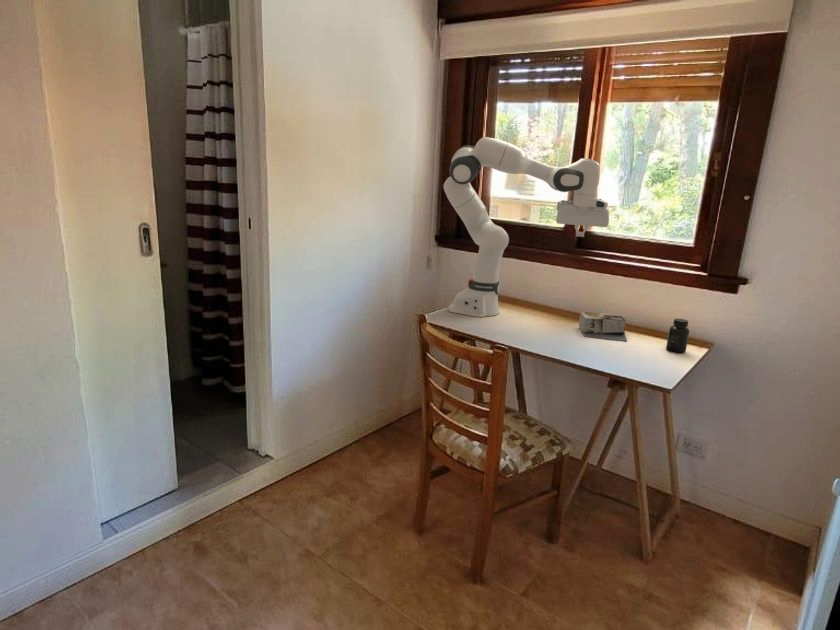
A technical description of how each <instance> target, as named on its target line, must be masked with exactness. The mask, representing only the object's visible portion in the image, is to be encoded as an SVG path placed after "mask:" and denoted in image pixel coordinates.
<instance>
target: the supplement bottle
mask: <svg viewBox="0 0 840 630" xmlns="http://www.w3.org/2000/svg"><path fill="white" fill-rule="evenodd" d="M672 324H673V325H671V326H670V327H669V328H668V335H667V339H666V345H665V349H666V350H667V351H668V352H670V353H673V354H681V355H682V354H685V353H686V351H687V348H688V347H687V346H688V343H689V342H688V341H689V336H690V329H689V328H688V326H689V320H687V319H683V318H674V319H673V322H672Z"/></svg>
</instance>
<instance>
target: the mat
mask: <svg viewBox="0 0 840 630" xmlns="http://www.w3.org/2000/svg"><path fill="white" fill-rule="evenodd" d="M583 338H592V339H598V340H599V339H601V340H608V341H609V340H610V341H615V342H617V341H618V342H625V343H626V342H627V343H628V339H627V336H626V331H624V335H612V334H599V333H585V332H583Z"/></svg>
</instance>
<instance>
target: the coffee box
mask: <svg viewBox="0 0 840 630" xmlns="http://www.w3.org/2000/svg"><path fill="white" fill-rule="evenodd" d="M579 313H580V315H579V322H578V327H579V329H580V330H581V332H582V333H584V332H585V333H599V334H612V335H624V332H626V331H625V330H626V321H627V320H626V319H625V318H624V316H622V315H621V314H619V313H618V314H617V313H601V312H585V311H580V312H579Z"/></svg>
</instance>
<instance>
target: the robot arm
mask: <svg viewBox="0 0 840 630" xmlns="http://www.w3.org/2000/svg"><path fill="white" fill-rule="evenodd" d="M483 167H484V168H485V167H486V168H487V167H488V168H490V169H493V170H495V171H498V172H502V173H506V174H512V175H517V174H523V175H528V176H531V177H534V178H536V179H539V180H541V181H543V182H545V183H546V184H548V185H549V187H550V188H551V189H553V190H555V191H557V192H560V193H567V192H571V191H573V200H564V199H563V200H560V201H558V202H557V203H556V211H557V214H556V218H555V222H556V223H557V224H559V225H572V226H573V225H574V229H575V231H576V234H575V236H576V237H579V238H584V237H585V233H586V231H587V230H588V229H589V227H599V228H606V227H608V226H609V224H610V212H609V209H608V201H606V200H602V198H598V185H599V183H600V175H601V166H600V163H599V162H598V161H596V160H593V159H591V158H585V157H584V158H583V157H582V158H579V160H577V161H575V162H573V163H570V164H567V165H549V164H546V163H544V162H541V161H538V160H536V159H533V158H531V156H529V155H528V154H527V153H526V152H525V150H523V149H522V148H520V147H518V146H517V145H515V144H513V143H511V142H508V141H505V140H501V139H497V138H494V137H493V138H492V137H487V136H485V137H481V138H480V139H478V141H477V142H476V144H475V146H472V145H469V144H467V145H462V146H460V147H458V148H457V149H456V151H455V153H454V154H453V156H452V158H451V161H450V165H449V176H448V177H447V178H446V180H445V181H444V183H443V191H444V193H445V195H446V197H447V200H448V201H449V203H450V204H451V206H452V207H453V209H454V211H455V212H456V214H457V215H458V216H459V218H460V219H461V221H462V222H463V224H464V226H465V228H466V231H467V232H468V234H469V235H470V237H471V239H472V240H473V242H474V244H475V245H477V246H479V247H478V248H479V249H478V253H477V257H476V259H475V260H474V261H473V262H474V263H473V275H472V276H473V277H470V278H469V279H468V282H467V287H466V288H464V290H461V291H460V292H459V293H457V294H456V295H455V298H454V301H453V302H452V303H451V304H449V305H448V311H449V312H451V313H455V314H459V315H466V316H471V317H477V318H485V317H491V316H497V315H499V314H500V308H499V299H498V297H499V296H498V295H499V292H500V281H499V277H500V266H501V263H502V262H501V261H502V258H503V254H504V253H505V252H504V251H505V249H506V248H507V247H508V245H509V242H510V236H509V234H508V233H507V231H506V230H505V229H504V228H503V227H502V226H499V225H497V224H495V223H494V222H493V221H492V220H491V218H490V216H489V214H488V211H487V208H486V205H485V204H484V202H483V201H482V199H481V198H480V196H479V195H478V193H477V192H476V191H475V189H474V187H473V186H472V183H471V182H472V181H473V180H474V179H475V178H476V177H477V175H478V174H479V173H480V172H481V170H482V168H483ZM579 226H583V228H584V230H583V231H579V229H578V228H579Z"/></svg>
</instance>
